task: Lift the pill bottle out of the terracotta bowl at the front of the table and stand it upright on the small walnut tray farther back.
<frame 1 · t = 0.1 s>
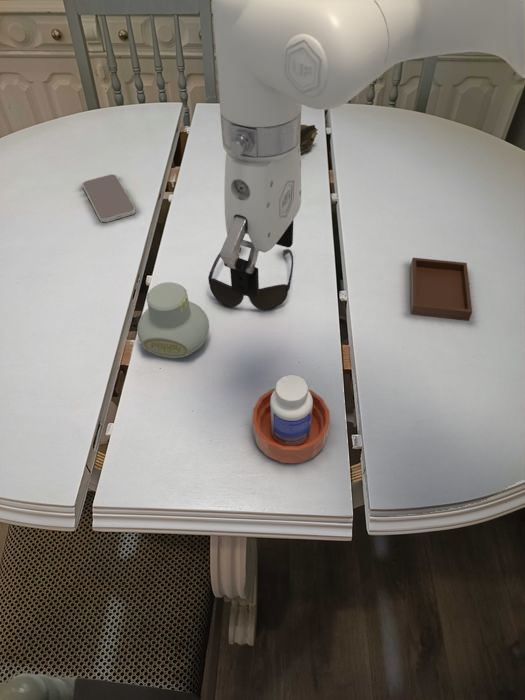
hand: (263, 267, 63), 21 cm above the table, tool pointing down, fingers open, 9 cm apart
bowl: (290, 432, 73), on the table
seashell: (282, 152, 122), on the table
tray: (438, 292, 90), on the table
sunglasses: (253, 280, 93), on the table
ornament: (273, 193, 111), on the table
smartphone: (109, 200, 110), on the table
pill bottle: (290, 431, 72), resting on bowl
air freshener: (176, 341, 84), on the table
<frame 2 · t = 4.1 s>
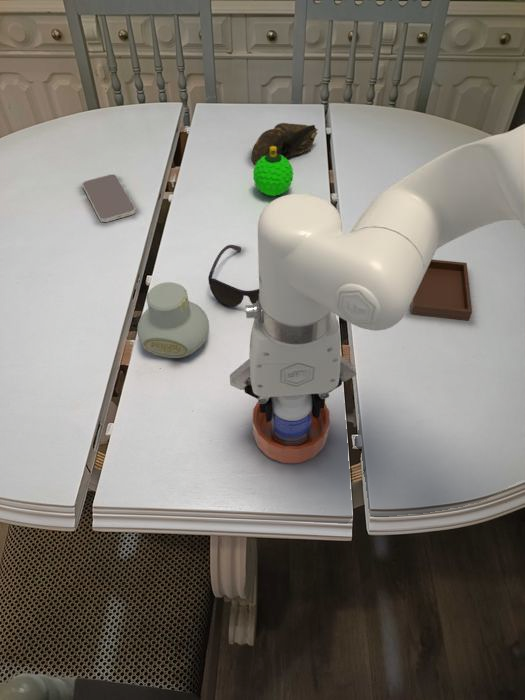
hand: (291, 409, 69), 5 cm above the table, tool pointing down, fingers closed on pill bottle, 5 cm apart
pill bottle: (290, 431, 72), resting on bowl, touching gripper
everything else where it was.
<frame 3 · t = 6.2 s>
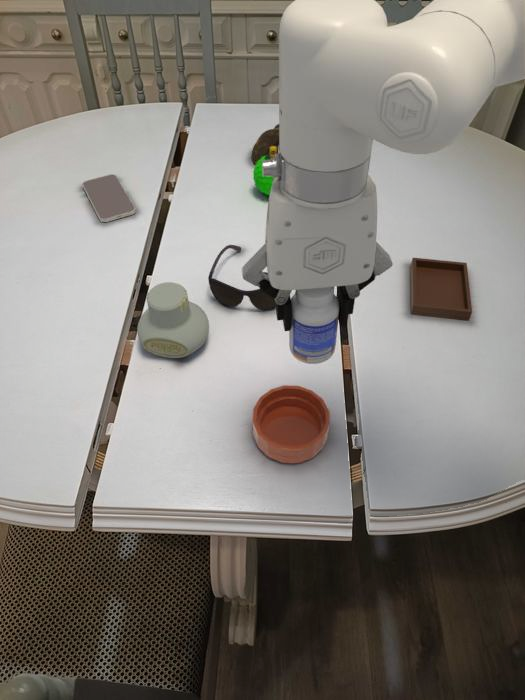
hand: (313, 318, 58), 20 cm above the table, tool pointing down, fingers closed on pill bottle, 5 cm apart
pill bottle: (311, 348, 62), point 15 cm above the table, touching gripper
everything else where it was.
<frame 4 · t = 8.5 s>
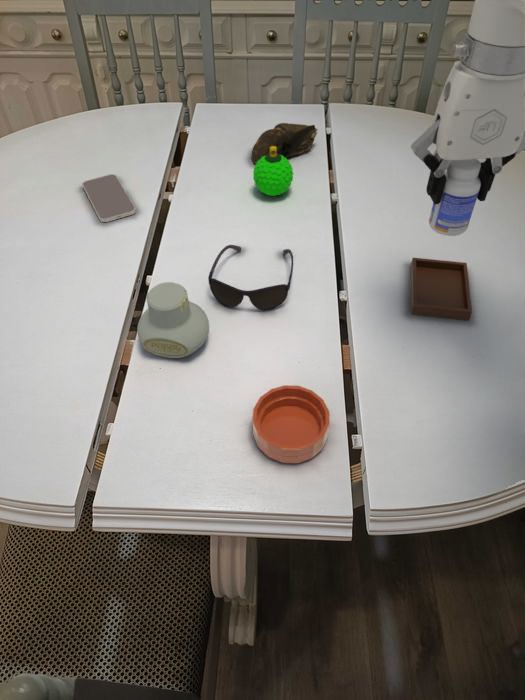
hand: (456, 195, 72), 21 cm above the table, tool pointing down, fingers closed on pill bottle, 5 cm apart
pill bottle: (446, 226, 76), point 16 cm above the table, touching gripper
everything else where it was.
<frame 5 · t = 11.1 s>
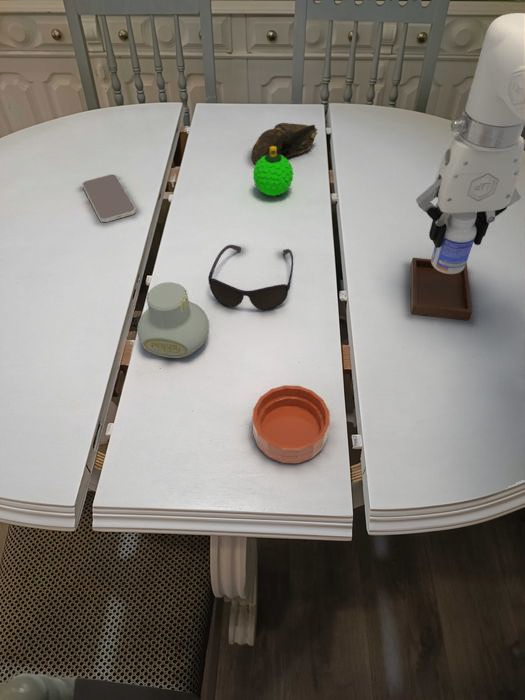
hand: (455, 239, 82), 11 cm above the table, tool pointing down, fingers closed on pill bottle, 5 cm apart
pill bottle: (446, 265, 86), point 6 cm above the table, touching gripper
everything else where it was.
when the fingers open (5 cm above the table, at t = 13.0 s): pill bottle stays where it is, resting on tray.
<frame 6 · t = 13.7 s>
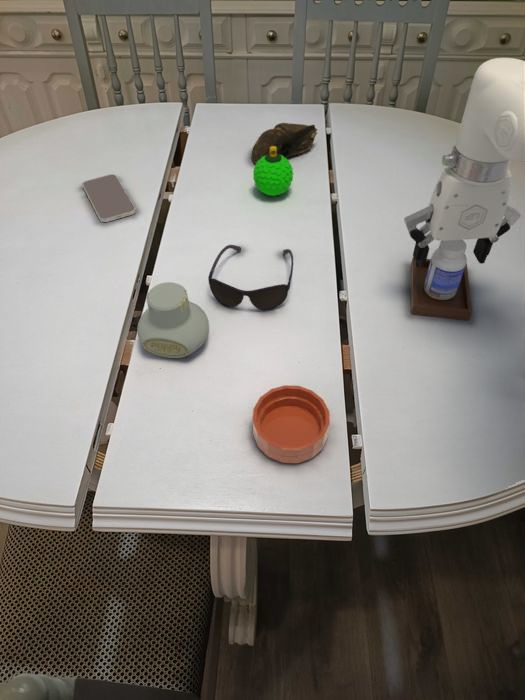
hand: (448, 260, 85), 7 cm above the table, tool pointing down, fingers open, 9 cm apart
pill bottle: (439, 291, 90), resting on tray
everything else where it was.
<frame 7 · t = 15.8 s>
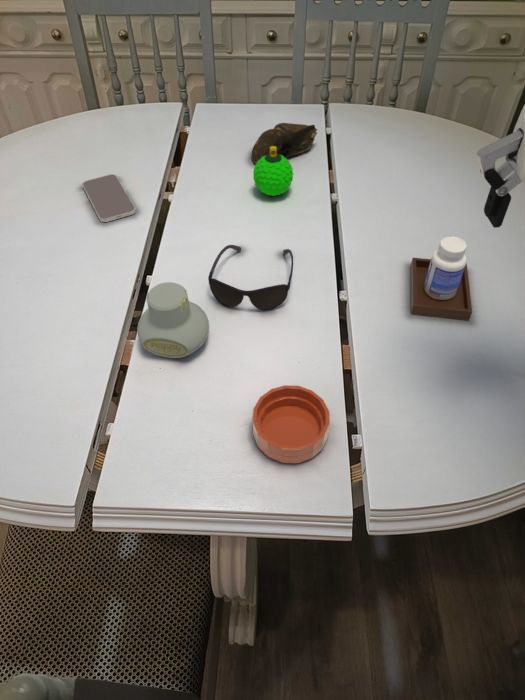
nothing on the table moved.
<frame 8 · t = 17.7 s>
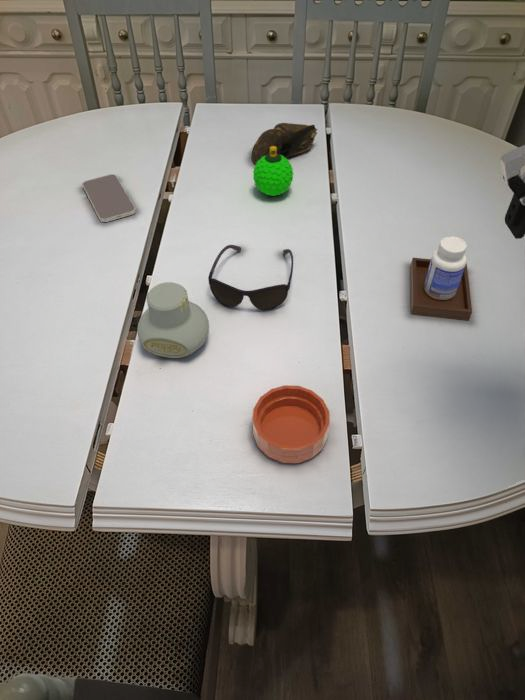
nothing on the table moved.
at the end: pill bottle inside the target area in the tray (0.1 cm from its centre), point 0.3 cm above the tray's base; pill bottle tilted 0°; the gripper is holding nothing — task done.
